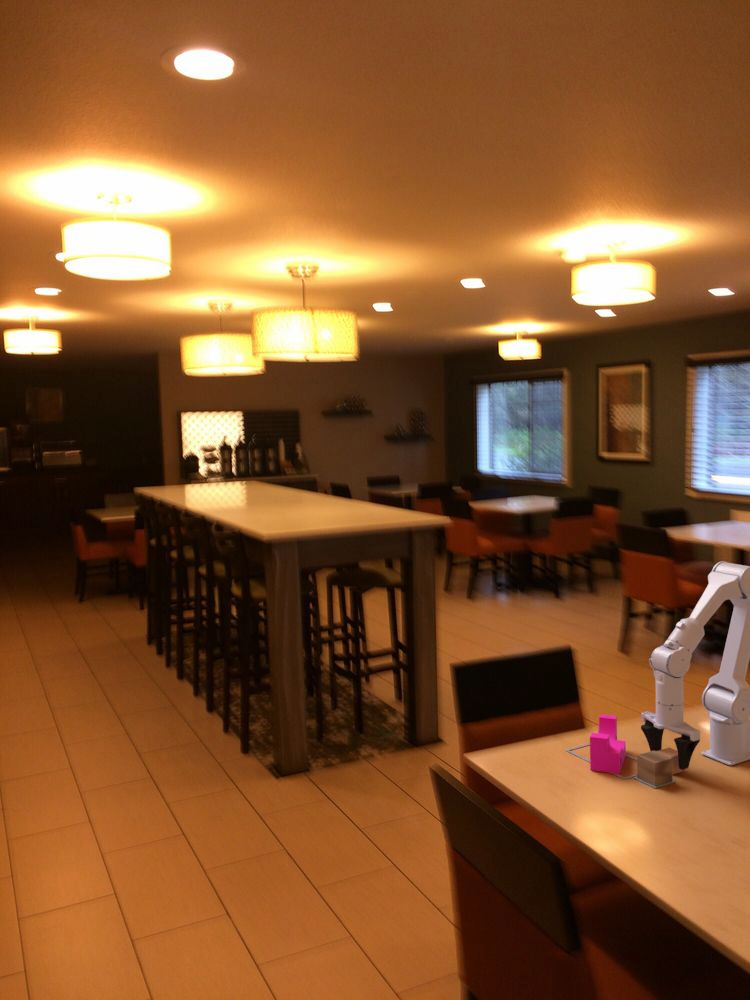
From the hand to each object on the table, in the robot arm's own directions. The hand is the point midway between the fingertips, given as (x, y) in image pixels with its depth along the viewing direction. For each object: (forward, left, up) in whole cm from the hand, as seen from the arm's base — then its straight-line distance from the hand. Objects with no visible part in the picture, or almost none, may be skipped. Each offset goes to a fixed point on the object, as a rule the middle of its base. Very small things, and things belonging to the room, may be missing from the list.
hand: (669, 762), depth 173 cm
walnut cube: (+7, +2, -1) cm, 7 cm away
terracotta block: (0, 0, -2) cm, 2 cm away
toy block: (+7, -11, -2) cm, 13 cm away
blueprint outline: (+7, -8, -2) cm, 10 cm away
